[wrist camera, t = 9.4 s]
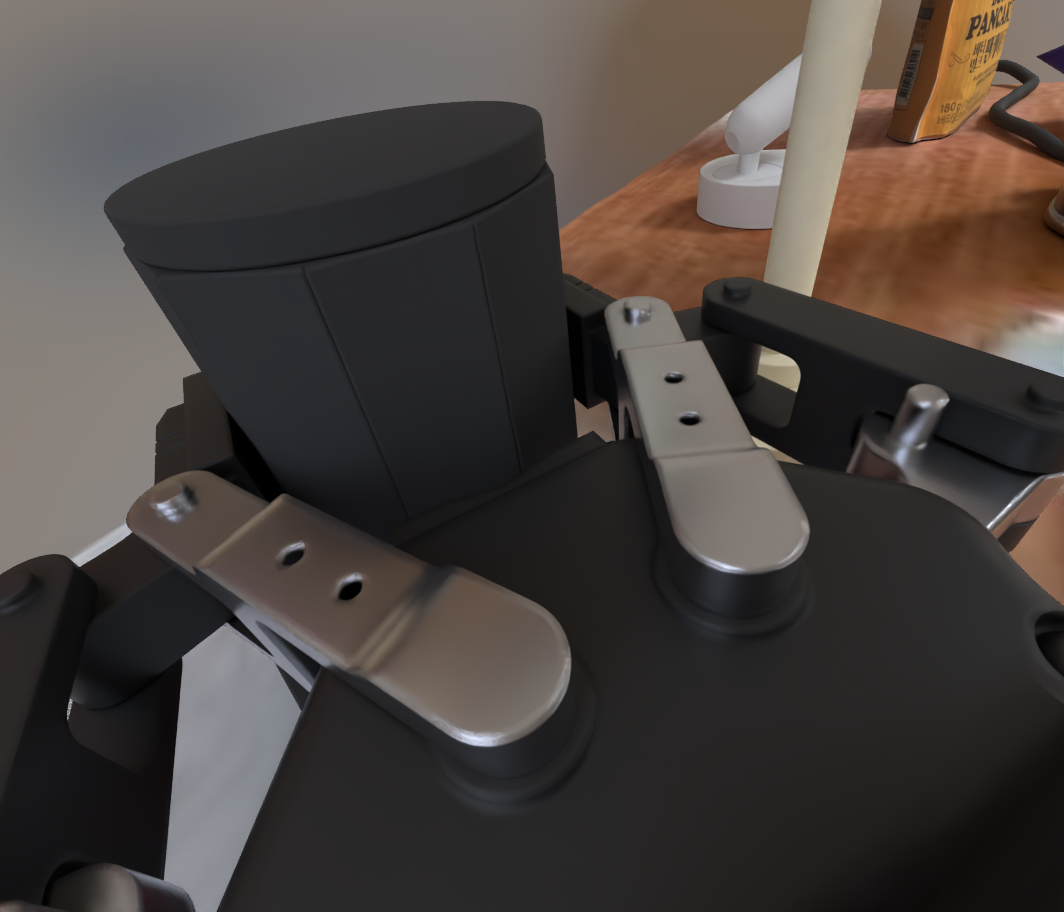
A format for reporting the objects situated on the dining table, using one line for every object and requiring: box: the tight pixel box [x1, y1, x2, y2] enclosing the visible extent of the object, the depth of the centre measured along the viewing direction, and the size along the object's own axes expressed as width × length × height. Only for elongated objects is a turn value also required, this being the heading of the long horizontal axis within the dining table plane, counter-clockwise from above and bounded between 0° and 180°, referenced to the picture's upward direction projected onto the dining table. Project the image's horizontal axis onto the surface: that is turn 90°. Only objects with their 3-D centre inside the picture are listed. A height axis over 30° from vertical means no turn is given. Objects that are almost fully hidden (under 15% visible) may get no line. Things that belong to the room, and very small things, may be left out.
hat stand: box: [751, 0, 882, 465], centre depth 15 cm, size 10×10×18 cm
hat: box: [104, 101, 578, 711], centre depth 11 cm, size 11×11×11 cm
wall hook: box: [697, 44, 872, 229], centre depth 33 cm, size 9×10×10 cm
